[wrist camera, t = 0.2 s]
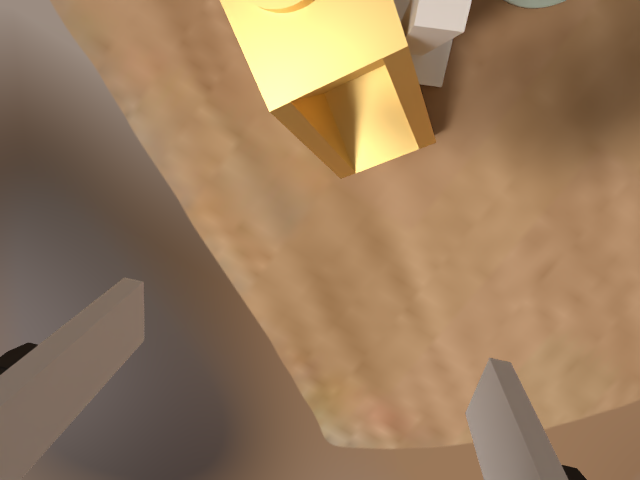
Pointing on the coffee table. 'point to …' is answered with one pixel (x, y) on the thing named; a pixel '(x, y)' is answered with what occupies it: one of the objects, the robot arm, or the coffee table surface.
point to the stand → (431, 34)
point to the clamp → (335, 77)
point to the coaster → (534, 3)
